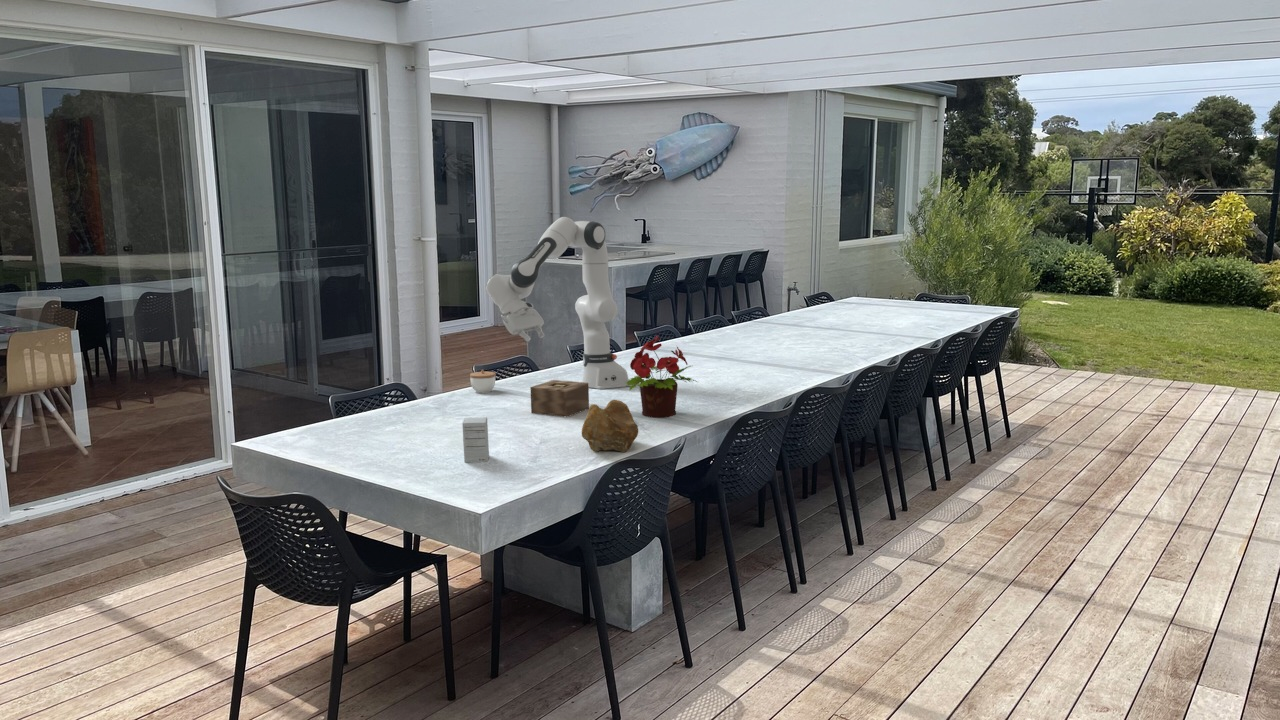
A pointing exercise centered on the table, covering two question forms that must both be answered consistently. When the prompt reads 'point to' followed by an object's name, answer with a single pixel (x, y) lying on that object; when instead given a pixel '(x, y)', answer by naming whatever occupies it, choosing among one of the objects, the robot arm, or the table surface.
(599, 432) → the rough brown rock
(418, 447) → the table surface
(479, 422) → the supplement box
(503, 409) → the table surface
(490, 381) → the lidded jar
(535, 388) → the box
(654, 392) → the potted plant
